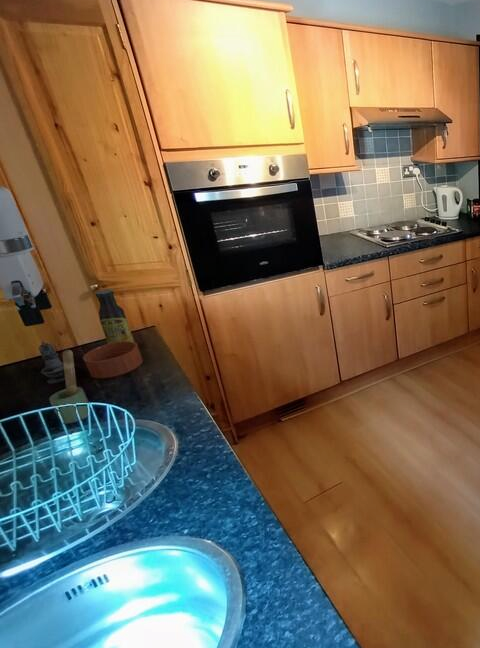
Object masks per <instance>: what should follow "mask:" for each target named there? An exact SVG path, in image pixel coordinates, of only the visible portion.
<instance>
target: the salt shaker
mask: <svg viewBox="0 0 480 648" xmlns="http://www.w3.org/2000/svg"><path fill="white" fill-rule="evenodd" d="M38 351H39V353H40V355H41V357H40V359H41V360H43V362H44V364H45V367H44V368H42V369H41V370H40V373H41V374H43V375H44V376H45V377H47V378H48V379H47V383H48V384H50V385H51V384H59V383H62V382H66V381H65V373H64V365H63V361H61V359H60V358H59V353H58V352H56V350H55V348H54V345H53V344H52V343H48V342H45V341H42V342H41V344H40V345H39V346H38Z"/></svg>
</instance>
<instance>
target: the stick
mask: <svg viewBox="0 0 480 648" xmlns="http://www.w3.org/2000/svg"><path fill="white" fill-rule="evenodd" d="M61 356H62V362H63V365H64V373H65V381H64V382H65V389H66V390H67V397H70V396H72V395H74V394H75V393H77V387H78V385H77V377H76V369H75V361H74V360H75V359H74V353H73V351H72V350H70V349H65V350H63V351H62V353H61Z"/></svg>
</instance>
